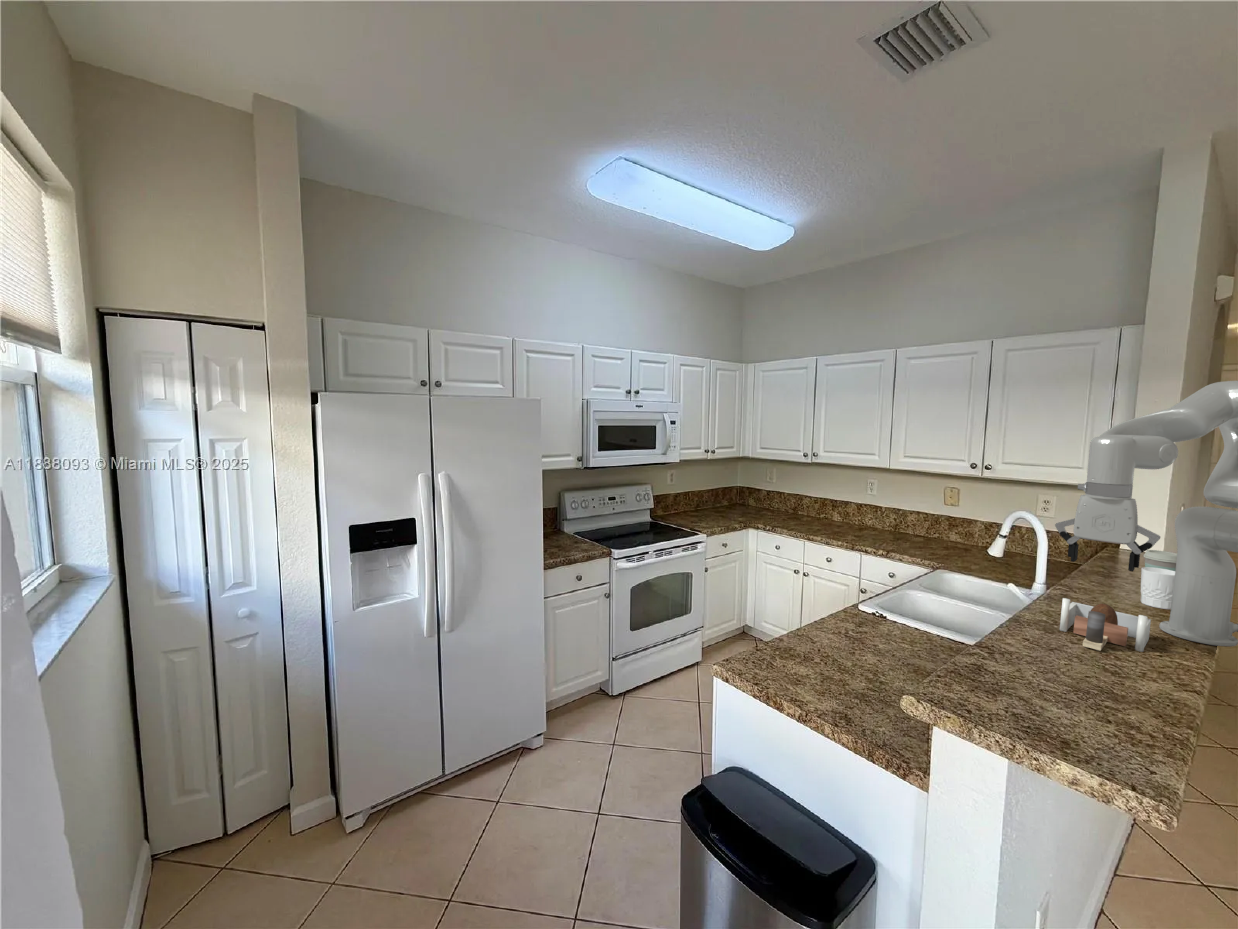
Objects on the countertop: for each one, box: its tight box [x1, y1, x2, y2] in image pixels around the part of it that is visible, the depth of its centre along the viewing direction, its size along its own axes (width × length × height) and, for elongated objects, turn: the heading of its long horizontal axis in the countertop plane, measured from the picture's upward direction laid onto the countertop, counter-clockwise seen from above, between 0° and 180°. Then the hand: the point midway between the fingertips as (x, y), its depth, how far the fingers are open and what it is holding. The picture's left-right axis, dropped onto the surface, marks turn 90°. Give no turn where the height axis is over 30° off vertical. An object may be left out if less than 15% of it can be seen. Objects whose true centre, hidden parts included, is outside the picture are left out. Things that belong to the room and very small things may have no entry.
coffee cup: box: [1143, 549, 1177, 571], centre depth 158 cm, size 8×8×12 cm
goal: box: [1059, 597, 1152, 653], centre depth 123 cm, size 11×15×8 cm
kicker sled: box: [1072, 611, 1128, 652], centre depth 117 cm, size 10×9×8 cm
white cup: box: [1140, 566, 1175, 610], centre depth 144 cm, size 8×8×10 cm
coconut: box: [1091, 603, 1118, 625], centre depth 122 cm, size 5×5×8 cm
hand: (1101, 565), depth 116 cm, fingers open, 9 cm apart
